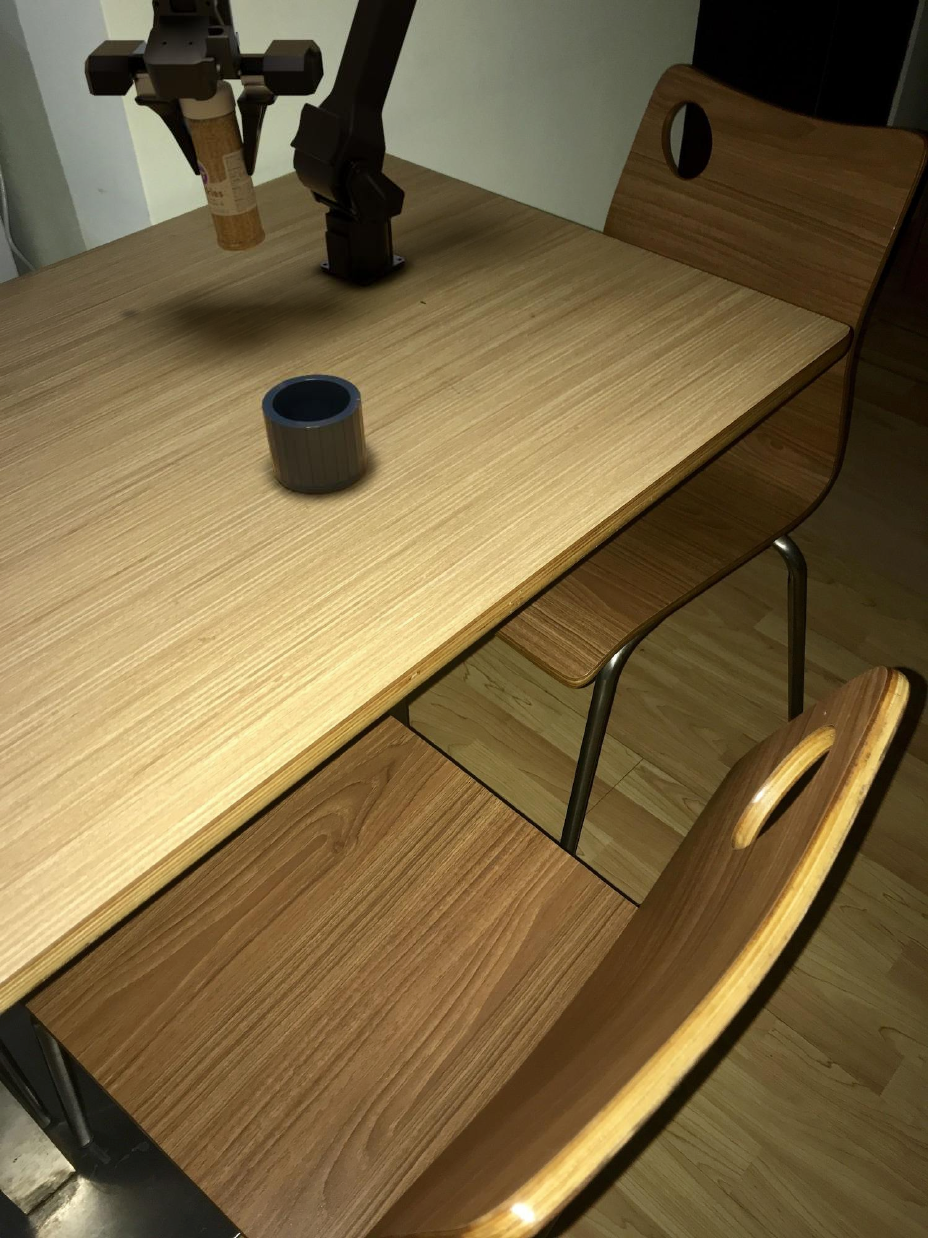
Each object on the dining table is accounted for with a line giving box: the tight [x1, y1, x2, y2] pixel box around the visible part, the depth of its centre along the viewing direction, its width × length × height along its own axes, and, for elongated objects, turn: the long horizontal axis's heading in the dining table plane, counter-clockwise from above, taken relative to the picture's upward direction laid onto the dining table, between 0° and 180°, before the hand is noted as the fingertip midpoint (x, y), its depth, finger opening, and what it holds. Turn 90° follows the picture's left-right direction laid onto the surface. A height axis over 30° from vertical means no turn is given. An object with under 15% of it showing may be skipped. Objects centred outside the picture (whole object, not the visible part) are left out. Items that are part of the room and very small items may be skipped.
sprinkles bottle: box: [179, 80, 266, 252], centre depth 88 cm, size 5×5×13 cm
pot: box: [261, 373, 368, 495], centre depth 76 cm, size 7×7×6 cm
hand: (225, 173), depth 88 cm, fingers closed on sprinkles bottle, 4 cm apart
